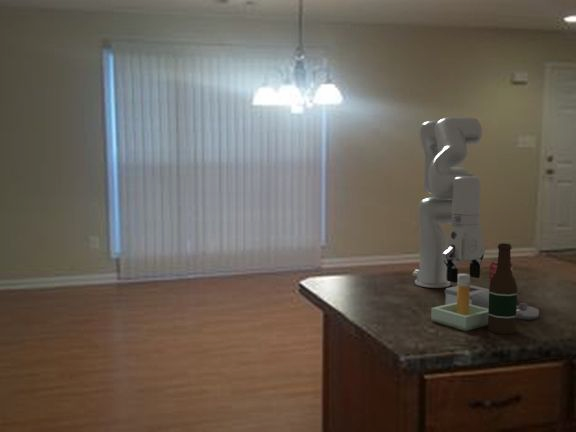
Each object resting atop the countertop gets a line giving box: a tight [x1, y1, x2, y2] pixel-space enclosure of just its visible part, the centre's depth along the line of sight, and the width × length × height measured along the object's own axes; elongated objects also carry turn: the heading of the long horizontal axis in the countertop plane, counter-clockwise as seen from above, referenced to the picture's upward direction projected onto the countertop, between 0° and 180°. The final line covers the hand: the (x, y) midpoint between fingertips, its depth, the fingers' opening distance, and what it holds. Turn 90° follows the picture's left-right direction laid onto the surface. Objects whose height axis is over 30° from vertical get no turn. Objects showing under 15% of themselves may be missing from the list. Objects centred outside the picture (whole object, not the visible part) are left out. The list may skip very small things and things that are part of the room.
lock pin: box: [456, 273, 471, 315], centre depth 184 cm, size 3×3×13 cm
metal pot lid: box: [516, 302, 540, 321], centre depth 192 cm, size 9×9×4 cm
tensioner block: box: [444, 284, 489, 309], centre depth 200 cm, size 10×11×6 cm
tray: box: [430, 302, 489, 332], centre depth 185 cm, size 12×12×4 cm
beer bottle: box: [487, 242, 518, 335], centre depth 175 cm, size 8×8×24 cm
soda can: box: [489, 259, 514, 282], centre depth 209 cm, size 7×7×13 cm
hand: (463, 279), depth 184 cm, fingers open, 9 cm apart
